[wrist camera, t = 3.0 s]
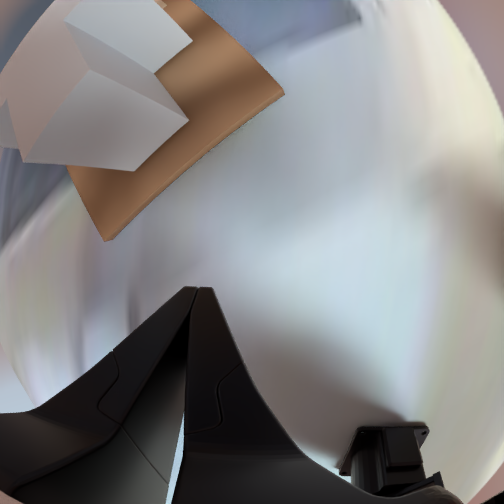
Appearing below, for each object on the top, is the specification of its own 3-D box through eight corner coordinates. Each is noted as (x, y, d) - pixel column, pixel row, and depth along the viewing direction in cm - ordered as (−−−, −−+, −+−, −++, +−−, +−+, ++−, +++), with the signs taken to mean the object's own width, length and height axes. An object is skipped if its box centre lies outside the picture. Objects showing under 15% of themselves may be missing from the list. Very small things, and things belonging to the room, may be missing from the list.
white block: (234, 84, 15) (161, 2, 7) (103, 204, 19) (-3, 212, 10) (173, 21, 15) (101, -44, 7) (66, 129, 19) (-22, 116, 10)
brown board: (285, 94, 16) (282, 88, 15) (112, 239, 20) (103, 241, 19) (160, -21, 16) (154, -27, 15) (44, 96, 20) (37, 94, 19)
